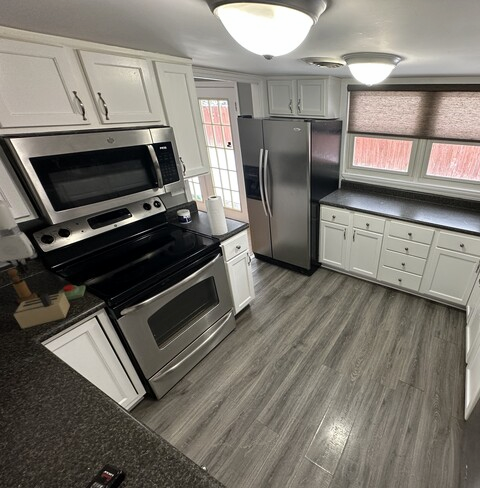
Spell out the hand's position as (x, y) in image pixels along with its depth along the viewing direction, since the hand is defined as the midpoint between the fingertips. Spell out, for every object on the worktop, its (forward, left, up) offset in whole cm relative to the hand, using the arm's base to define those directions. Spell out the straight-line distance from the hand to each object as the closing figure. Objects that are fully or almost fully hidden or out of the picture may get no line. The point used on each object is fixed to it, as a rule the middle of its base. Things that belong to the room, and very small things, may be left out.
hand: (25, 272), depth 111 cm
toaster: (0, -2, -23) cm, 23 cm away
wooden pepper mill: (-11, +18, -23) cm, 31 cm away
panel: (+6, +13, -23) cm, 27 cm away
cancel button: (+6, +13, -19) cm, 24 cm away
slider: (+4, -6, -15) cm, 16 cm away
